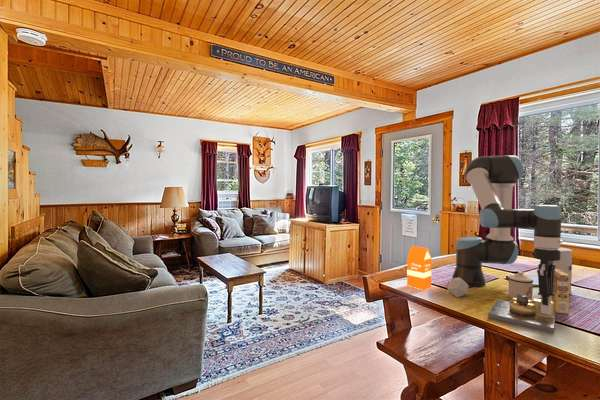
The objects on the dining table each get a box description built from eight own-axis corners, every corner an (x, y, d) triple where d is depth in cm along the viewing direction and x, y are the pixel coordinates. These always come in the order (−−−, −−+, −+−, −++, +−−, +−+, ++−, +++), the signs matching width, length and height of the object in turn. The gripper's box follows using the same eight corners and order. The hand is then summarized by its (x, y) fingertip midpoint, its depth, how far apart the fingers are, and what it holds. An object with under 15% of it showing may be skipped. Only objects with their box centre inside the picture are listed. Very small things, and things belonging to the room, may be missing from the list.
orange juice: (423, 290, 148) (424, 249, 147) (406, 286, 155) (406, 246, 154) (431, 287, 153) (431, 247, 152) (414, 283, 160) (414, 244, 159)
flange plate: (488, 318, 116) (488, 297, 116) (497, 303, 131) (497, 284, 130) (553, 333, 104) (554, 310, 104) (555, 315, 118) (556, 294, 118)
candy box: (569, 314, 119) (570, 275, 119) (556, 312, 121) (556, 274, 120) (559, 306, 128) (560, 269, 127) (547, 304, 129) (548, 268, 129)
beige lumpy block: (510, 312, 116) (511, 299, 115) (508, 305, 123) (508, 293, 122) (555, 319, 109) (555, 305, 109) (550, 311, 116) (550, 298, 116)
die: (456, 292, 147) (444, 276, 147) (474, 287, 142) (461, 270, 142) (454, 303, 141) (441, 287, 141) (472, 298, 135) (459, 281, 135)
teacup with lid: (531, 303, 131) (532, 276, 130) (506, 298, 137) (506, 272, 136) (534, 296, 139) (535, 270, 139) (510, 291, 146) (511, 267, 145)
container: (576, 294, 141) (577, 250, 140) (551, 293, 143) (552, 250, 142) (562, 287, 151) (563, 246, 150) (539, 286, 153) (540, 246, 152)
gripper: (555, 251, 104) (554, 321, 104) (564, 247, 112) (563, 312, 112) (528, 248, 110) (527, 314, 110) (539, 244, 118) (538, 306, 118)
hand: (545, 313), depth 111 cm, fingers closed
